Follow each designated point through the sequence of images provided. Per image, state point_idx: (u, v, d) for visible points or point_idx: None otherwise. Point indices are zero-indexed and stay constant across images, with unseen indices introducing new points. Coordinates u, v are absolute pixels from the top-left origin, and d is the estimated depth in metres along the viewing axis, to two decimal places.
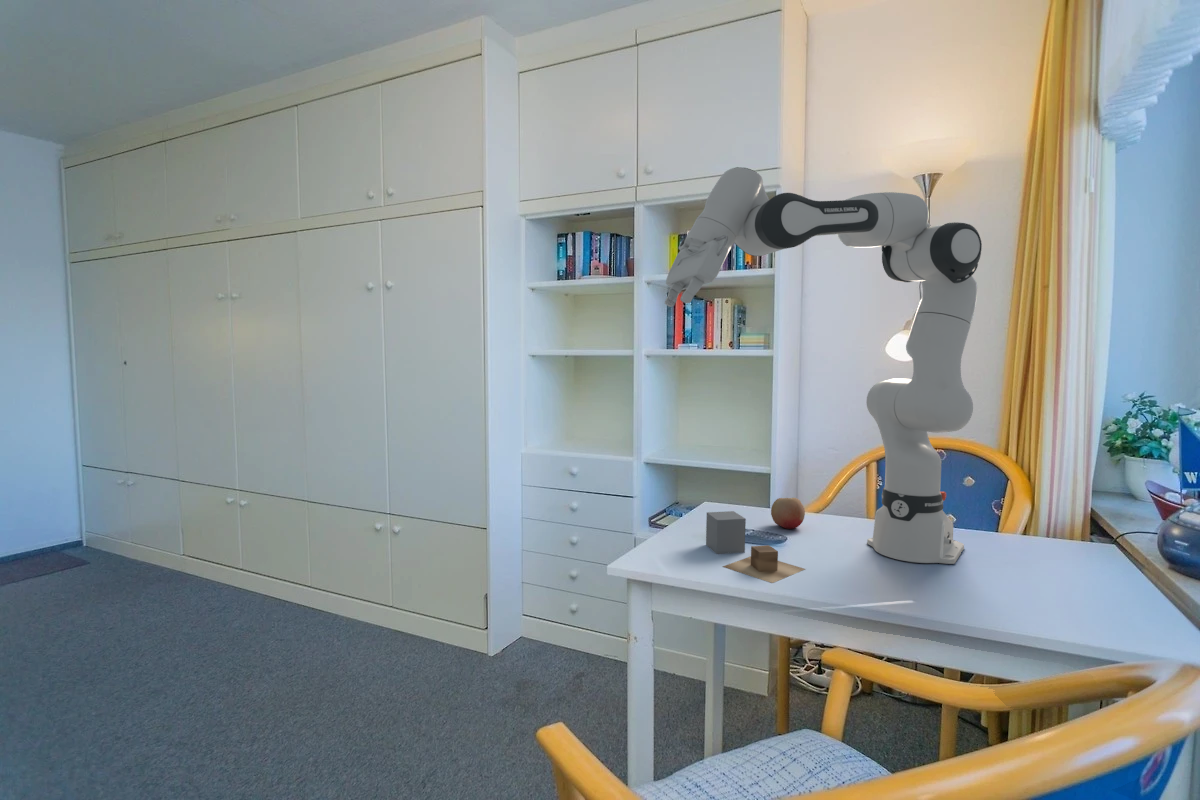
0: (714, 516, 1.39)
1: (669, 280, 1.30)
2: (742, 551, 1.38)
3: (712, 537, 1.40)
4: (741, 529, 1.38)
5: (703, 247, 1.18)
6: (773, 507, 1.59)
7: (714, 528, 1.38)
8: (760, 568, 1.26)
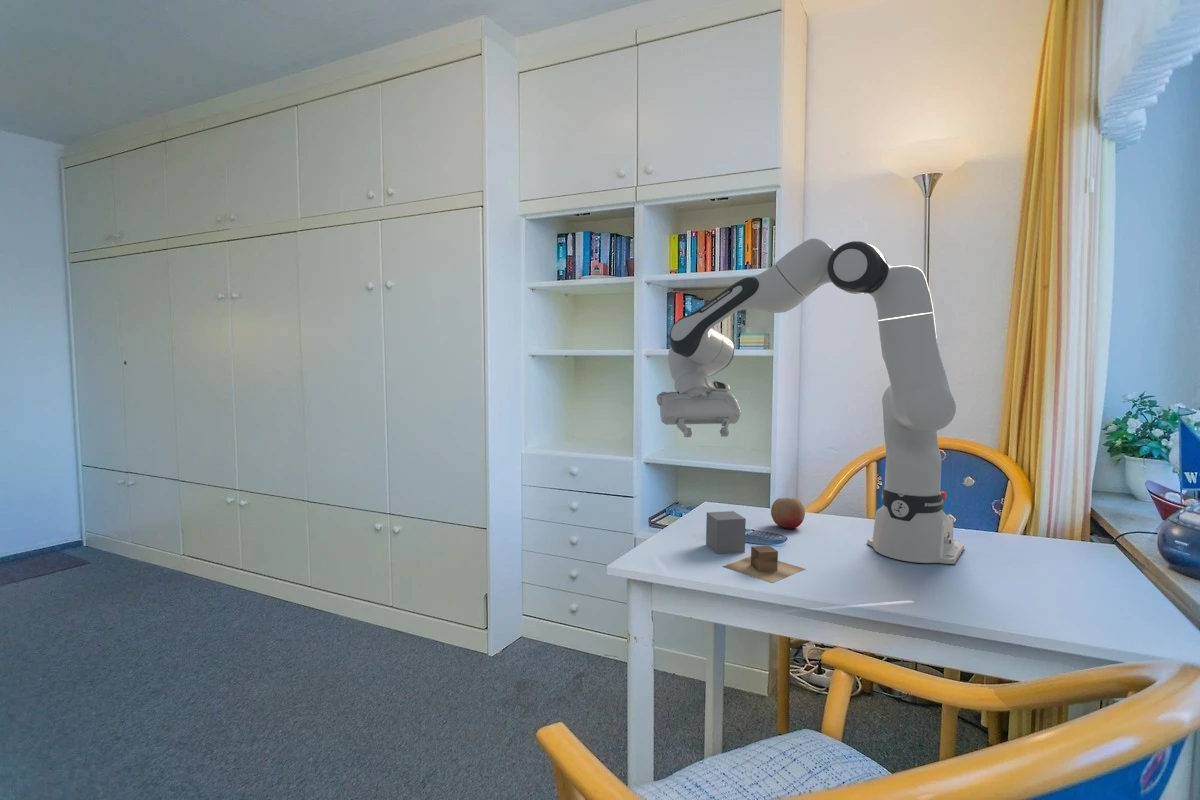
0: (714, 516, 1.39)
1: None
2: (742, 551, 1.38)
3: (712, 537, 1.40)
4: (741, 529, 1.38)
5: None
6: (773, 507, 1.59)
7: (714, 528, 1.38)
8: (760, 568, 1.26)
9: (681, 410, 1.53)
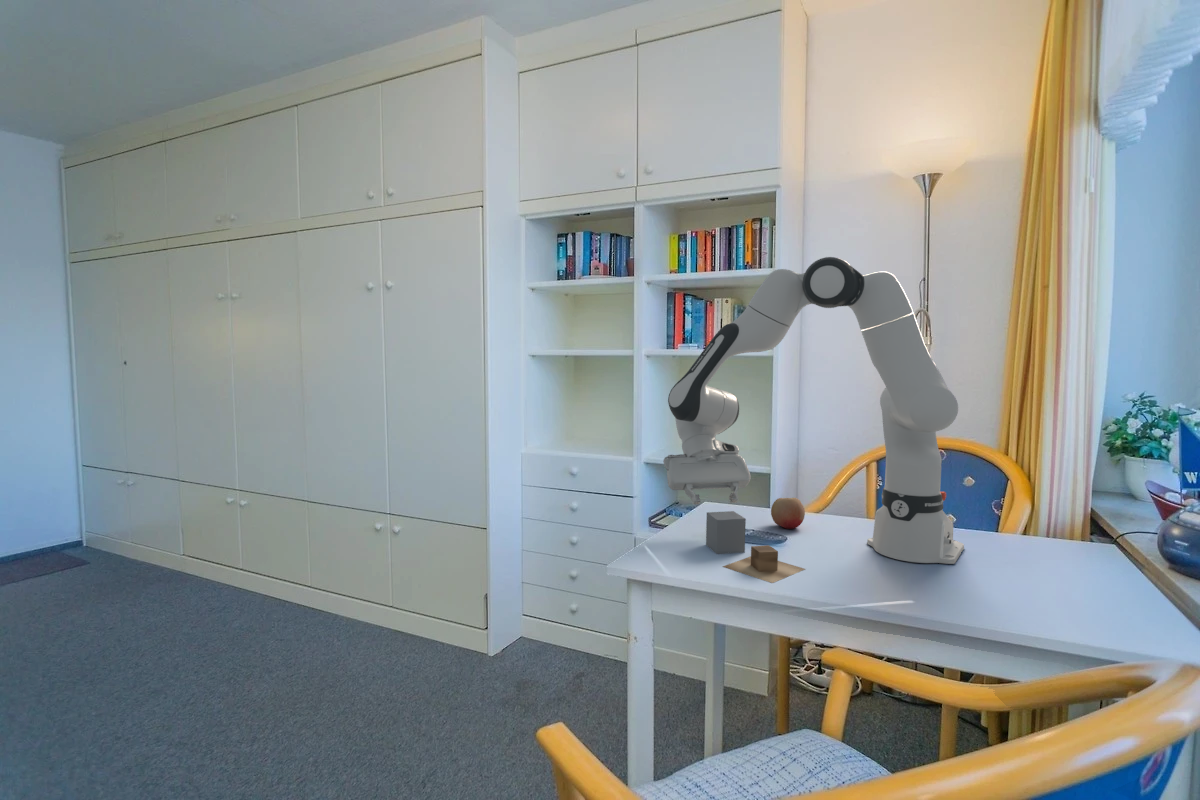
0: (714, 516, 1.39)
1: None
2: (742, 551, 1.38)
3: (712, 537, 1.40)
4: (741, 529, 1.38)
5: None
6: (773, 507, 1.59)
7: (714, 528, 1.38)
8: (760, 568, 1.26)
9: (689, 475, 1.48)
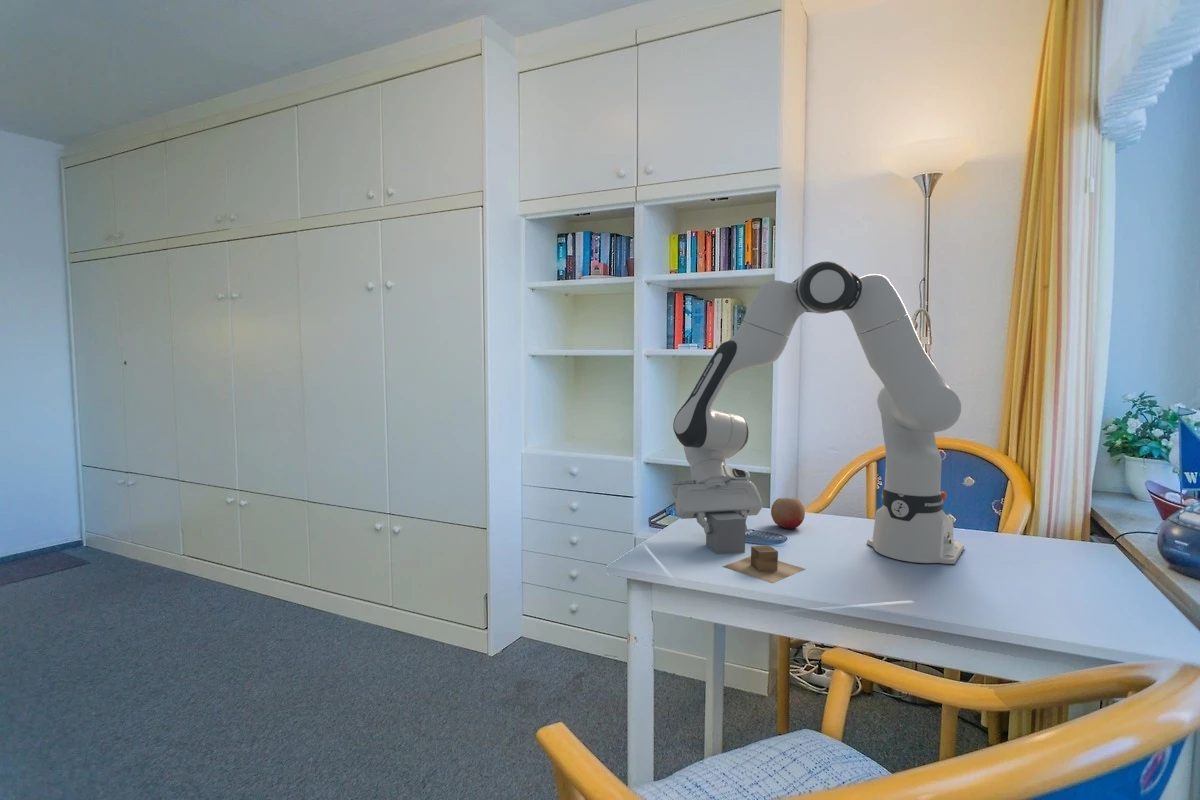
0: (714, 516, 1.39)
1: None
2: (742, 551, 1.38)
3: (712, 537, 1.40)
4: (741, 529, 1.38)
5: None
6: (773, 507, 1.59)
7: (714, 528, 1.38)
8: (760, 568, 1.26)
9: (698, 504, 1.42)
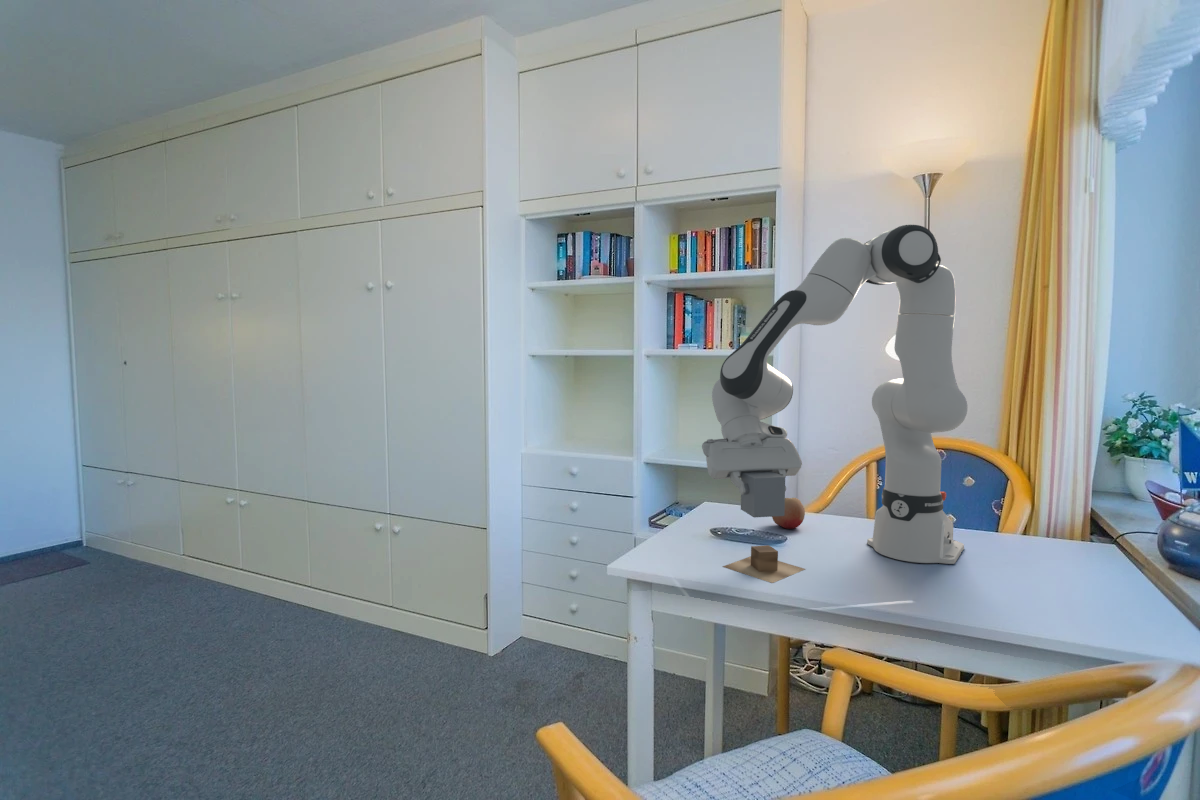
0: (750, 475, 1.28)
1: None
2: (782, 513, 1.26)
3: (748, 498, 1.28)
4: (780, 488, 1.26)
5: None
6: None
7: (751, 488, 1.26)
8: (760, 568, 1.26)
9: (732, 462, 1.30)
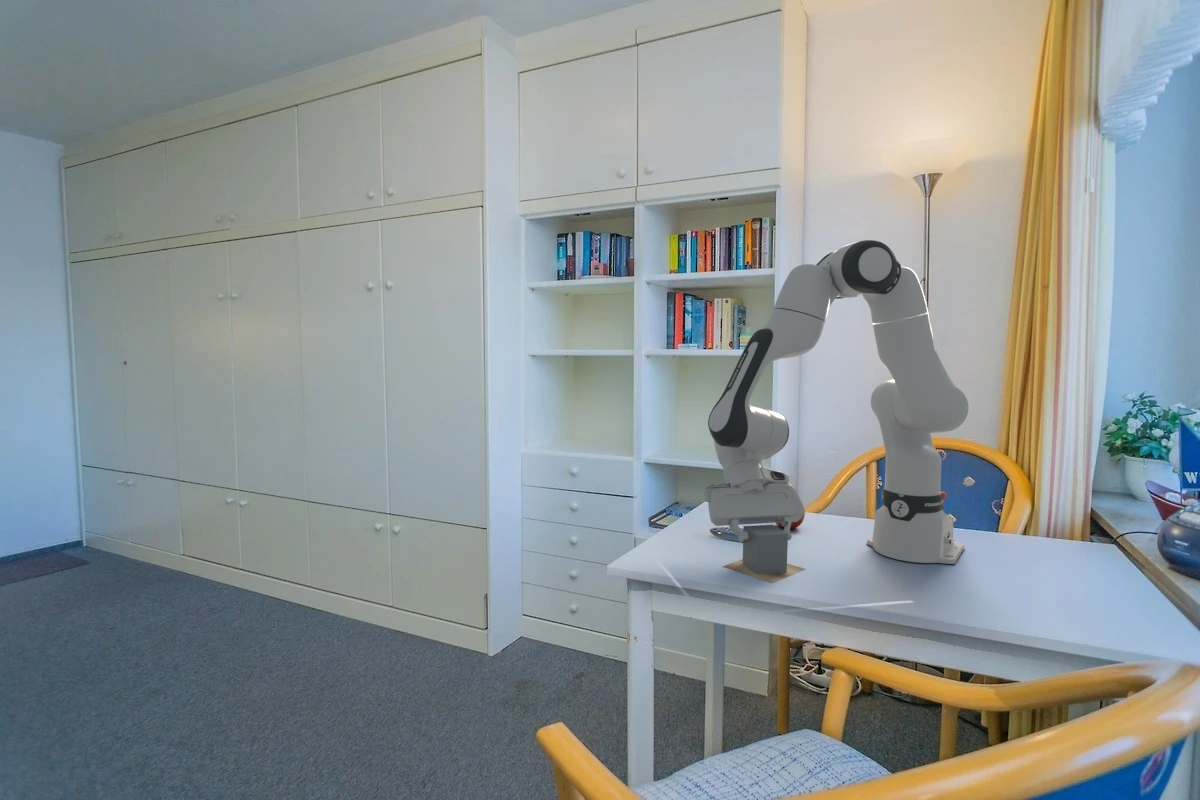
0: (753, 531, 1.27)
1: None
2: (784, 569, 1.26)
3: (750, 554, 1.27)
4: (783, 545, 1.25)
5: None
6: None
7: (753, 544, 1.26)
8: None
9: (734, 509, 1.29)
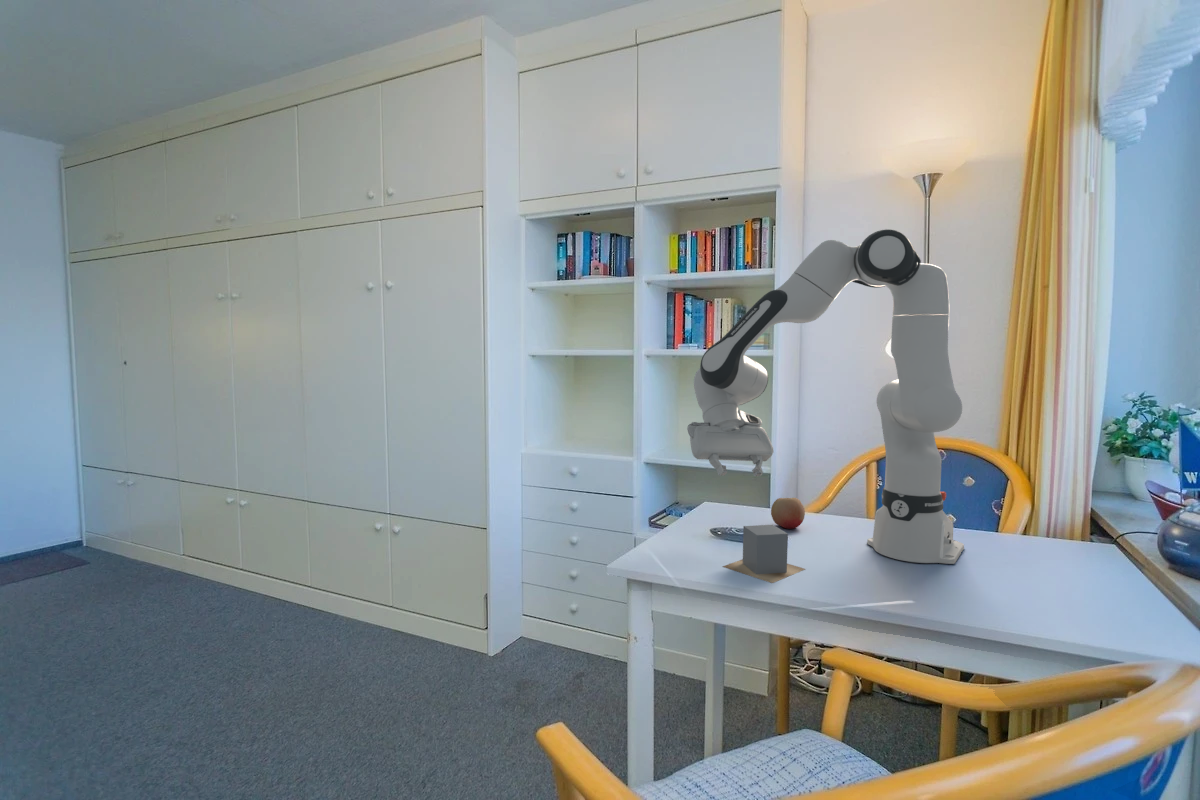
0: (753, 531, 1.27)
1: None
2: (784, 569, 1.26)
3: (750, 554, 1.27)
4: (783, 545, 1.25)
5: None
6: (773, 507, 1.59)
7: (753, 544, 1.26)
8: None
9: (715, 445, 1.41)
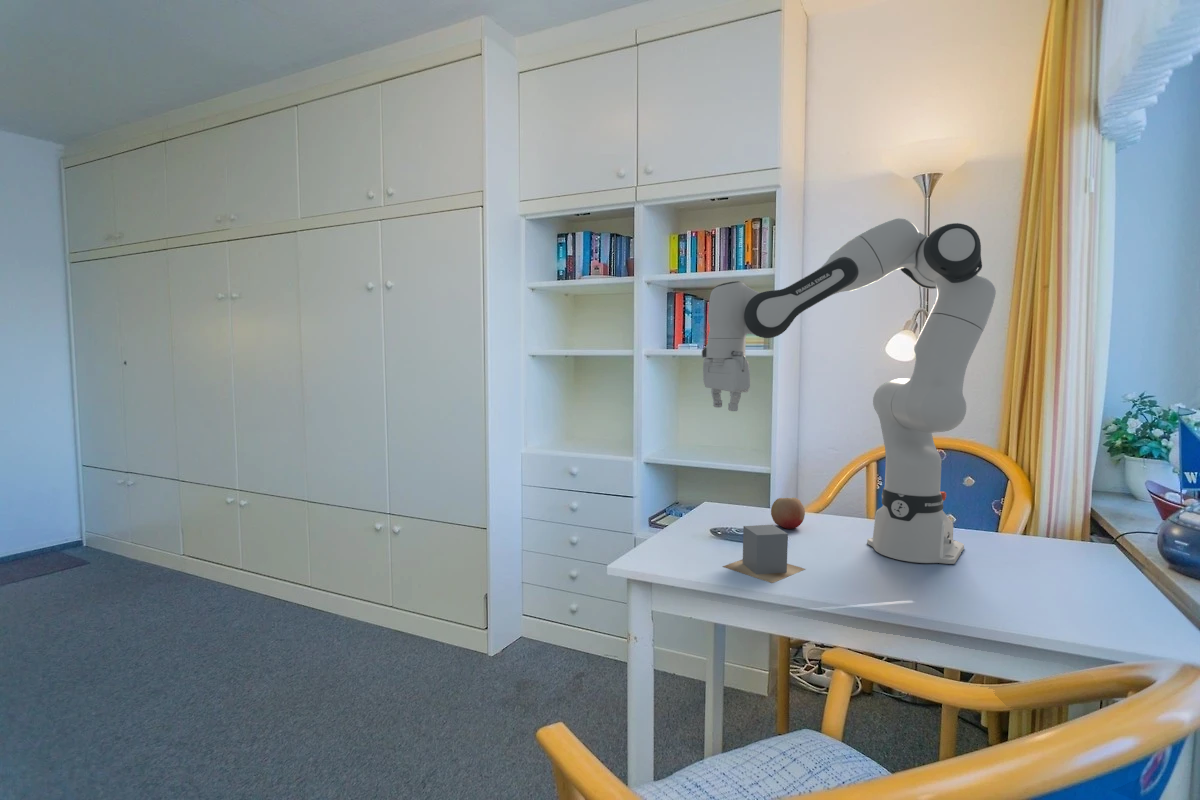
0: (753, 531, 1.27)
1: (708, 386, 1.55)
2: (784, 569, 1.26)
3: (750, 554, 1.27)
4: (783, 545, 1.25)
5: (727, 364, 1.43)
6: (773, 507, 1.59)
7: (753, 544, 1.26)
8: None
9: None
